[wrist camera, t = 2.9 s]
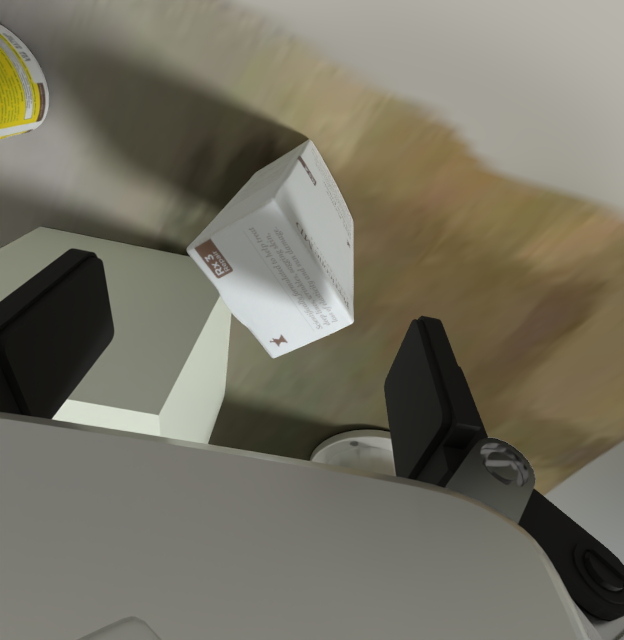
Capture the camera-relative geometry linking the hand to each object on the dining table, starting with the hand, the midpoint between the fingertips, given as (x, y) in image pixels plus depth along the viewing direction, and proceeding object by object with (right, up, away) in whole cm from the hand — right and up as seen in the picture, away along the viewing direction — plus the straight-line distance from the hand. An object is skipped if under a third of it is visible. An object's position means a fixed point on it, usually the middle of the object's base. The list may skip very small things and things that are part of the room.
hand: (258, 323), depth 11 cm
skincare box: (+1, +8, +13) cm, 15 cm away
